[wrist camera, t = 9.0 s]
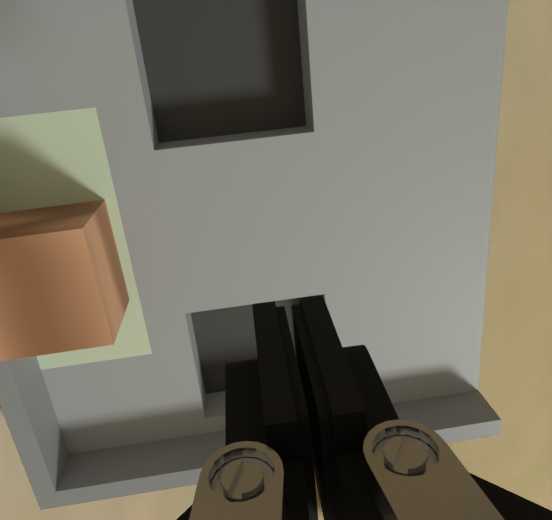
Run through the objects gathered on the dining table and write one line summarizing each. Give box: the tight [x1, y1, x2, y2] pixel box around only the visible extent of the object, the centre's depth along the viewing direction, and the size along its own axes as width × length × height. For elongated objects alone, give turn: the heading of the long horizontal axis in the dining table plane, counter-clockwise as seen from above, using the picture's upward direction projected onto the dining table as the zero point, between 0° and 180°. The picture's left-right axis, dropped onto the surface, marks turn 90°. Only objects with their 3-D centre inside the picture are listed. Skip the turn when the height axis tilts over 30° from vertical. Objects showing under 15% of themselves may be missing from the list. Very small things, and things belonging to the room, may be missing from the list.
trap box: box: [0, 0, 508, 510], centre depth 23 cm, size 24×25×5 cm
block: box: [0, 200, 129, 361], centre depth 21 cm, size 5×5×4 cm
